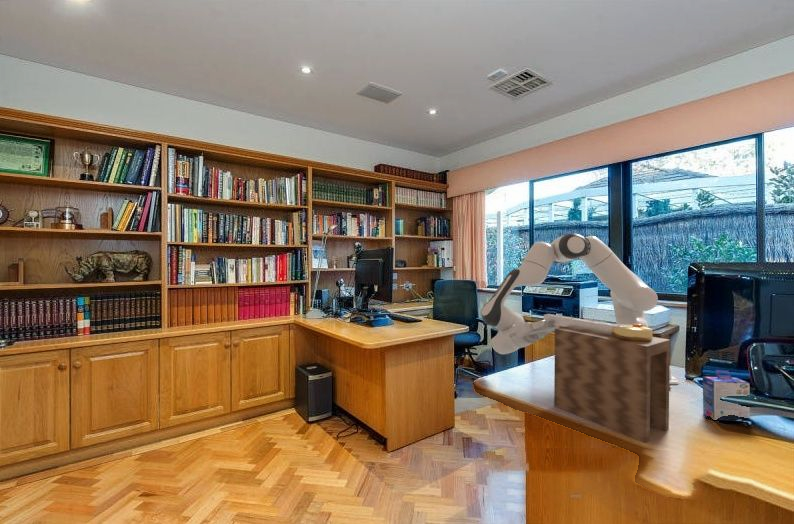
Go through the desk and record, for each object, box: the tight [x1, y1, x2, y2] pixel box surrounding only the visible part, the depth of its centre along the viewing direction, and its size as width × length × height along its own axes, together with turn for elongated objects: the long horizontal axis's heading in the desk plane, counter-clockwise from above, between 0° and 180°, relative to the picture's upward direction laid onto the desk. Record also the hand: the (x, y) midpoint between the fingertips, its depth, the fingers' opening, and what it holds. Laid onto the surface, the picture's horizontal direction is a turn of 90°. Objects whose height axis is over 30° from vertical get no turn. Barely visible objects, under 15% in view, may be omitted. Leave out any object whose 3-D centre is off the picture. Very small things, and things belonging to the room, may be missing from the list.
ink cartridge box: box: [702, 369, 751, 421], centre depth 108 cm, size 10×6×14 cm, turn 82°
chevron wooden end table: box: [553, 326, 671, 444], centre depth 109 cm, size 27×14×26 cm, turn 32°
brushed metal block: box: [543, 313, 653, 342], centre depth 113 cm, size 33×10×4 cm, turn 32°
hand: (552, 320), depth 125 cm, fingers open, 8 cm apart
